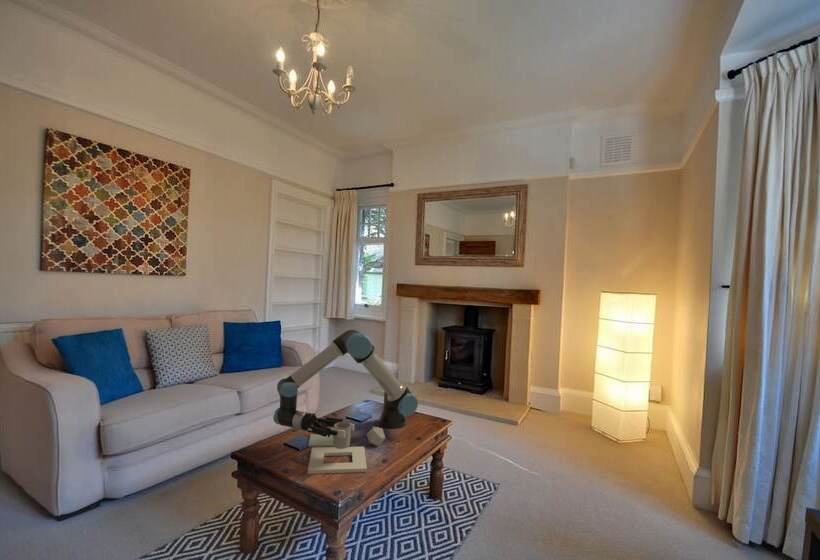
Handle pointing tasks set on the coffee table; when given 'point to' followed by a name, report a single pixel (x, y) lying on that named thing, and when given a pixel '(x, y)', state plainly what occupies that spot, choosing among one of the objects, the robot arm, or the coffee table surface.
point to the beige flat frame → (320, 467)
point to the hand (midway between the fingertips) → (349, 430)
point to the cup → (339, 441)
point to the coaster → (320, 441)
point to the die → (376, 436)
